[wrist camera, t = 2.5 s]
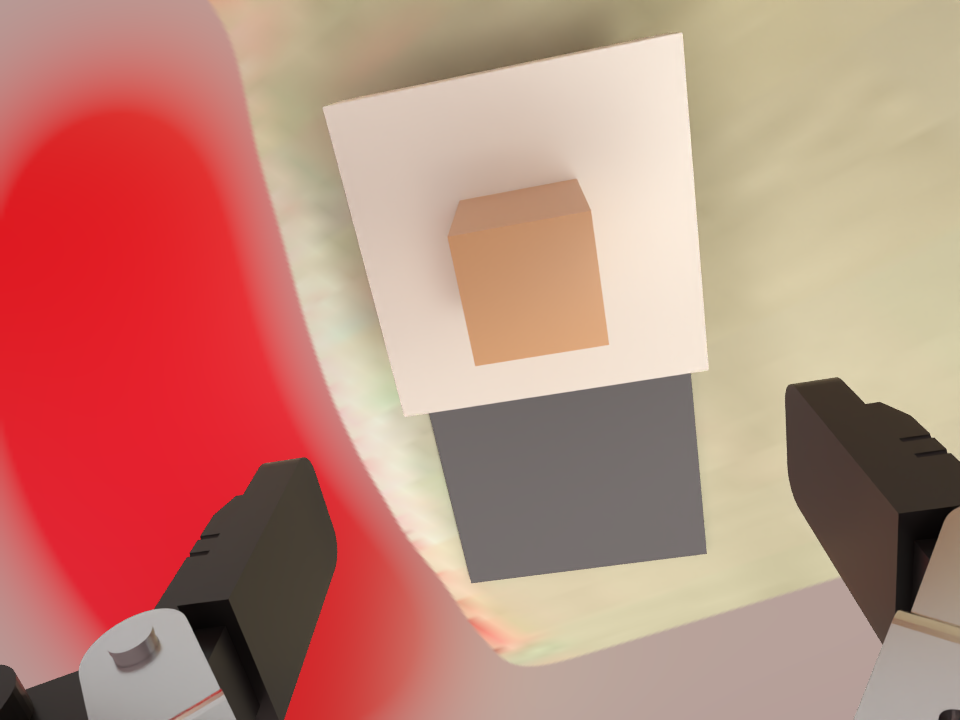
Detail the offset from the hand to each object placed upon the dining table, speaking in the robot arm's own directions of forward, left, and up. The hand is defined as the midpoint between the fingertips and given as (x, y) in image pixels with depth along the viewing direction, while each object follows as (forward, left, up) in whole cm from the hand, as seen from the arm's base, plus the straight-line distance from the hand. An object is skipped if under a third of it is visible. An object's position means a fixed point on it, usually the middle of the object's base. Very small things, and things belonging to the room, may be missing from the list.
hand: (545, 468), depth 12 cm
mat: (+14, 0, -22) cm, 26 cm away
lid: (0, 0, -17) cm, 17 cm away
